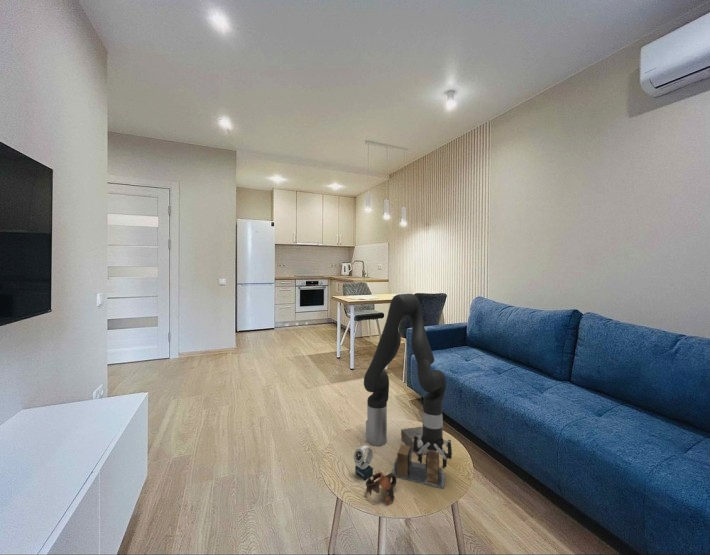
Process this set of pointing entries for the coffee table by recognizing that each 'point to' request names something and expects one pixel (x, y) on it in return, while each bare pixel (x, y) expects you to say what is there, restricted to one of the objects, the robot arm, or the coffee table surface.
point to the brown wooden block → (432, 466)
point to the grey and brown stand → (413, 469)
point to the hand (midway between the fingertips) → (432, 464)
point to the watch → (363, 467)
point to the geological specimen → (409, 435)
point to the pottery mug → (382, 485)
